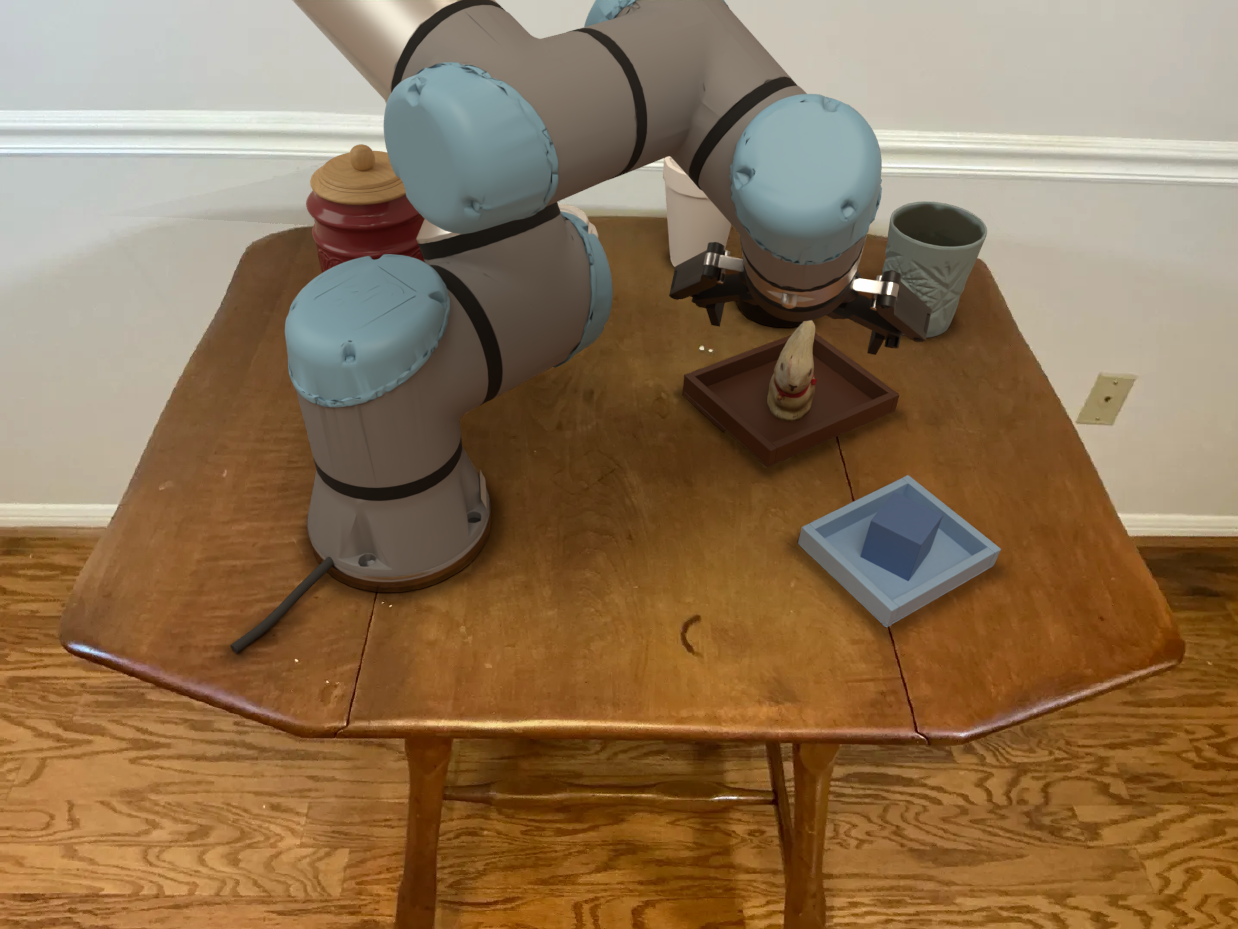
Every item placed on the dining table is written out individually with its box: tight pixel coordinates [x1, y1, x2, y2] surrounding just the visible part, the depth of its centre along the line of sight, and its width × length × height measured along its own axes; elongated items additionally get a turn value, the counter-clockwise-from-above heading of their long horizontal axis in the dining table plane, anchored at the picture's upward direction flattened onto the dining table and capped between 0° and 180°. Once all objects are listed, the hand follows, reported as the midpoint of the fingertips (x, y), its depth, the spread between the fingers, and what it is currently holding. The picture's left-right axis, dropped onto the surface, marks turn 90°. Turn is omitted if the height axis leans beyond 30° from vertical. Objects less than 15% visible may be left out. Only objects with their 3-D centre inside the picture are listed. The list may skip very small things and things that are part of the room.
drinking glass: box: [881, 200, 988, 339], centre depth 105 cm, size 10×10×12 cm
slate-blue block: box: [860, 492, 943, 581], centre depth 79 cm, size 4×4×4 cm
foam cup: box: [662, 156, 732, 268], centre depth 113 cm, size 10×9×13 cm
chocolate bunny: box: [767, 320, 817, 422], centre depth 92 cm, size 6×8×10 cm
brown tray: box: [681, 332, 900, 468], centre depth 95 cm, size 17×14×3 cm
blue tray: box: [797, 474, 1002, 628], centre depth 80 cm, size 13×11×3 cm
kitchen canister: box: [305, 143, 425, 274], centre depth 103 cm, size 13×13×18 cm
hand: (795, 324), depth 82 cm, fingers open, 13 cm apart
